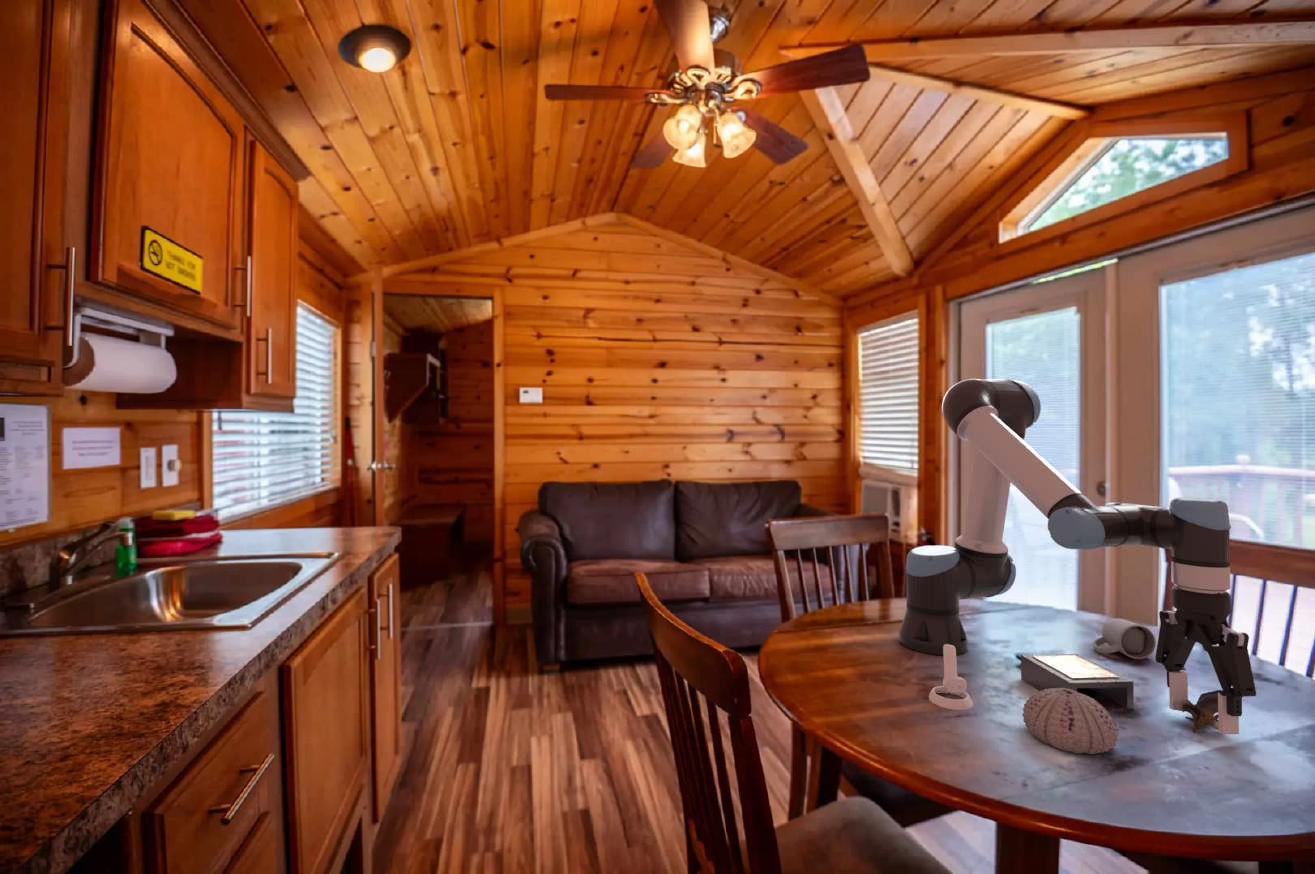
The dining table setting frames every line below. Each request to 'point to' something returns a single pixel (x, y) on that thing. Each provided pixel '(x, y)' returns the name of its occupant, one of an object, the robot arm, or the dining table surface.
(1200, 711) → the eagle figurine
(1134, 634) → the ceramic mug
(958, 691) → the vr controller
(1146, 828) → the dining table surface
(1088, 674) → the dark boxy piece
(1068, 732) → the sea urchin shell
